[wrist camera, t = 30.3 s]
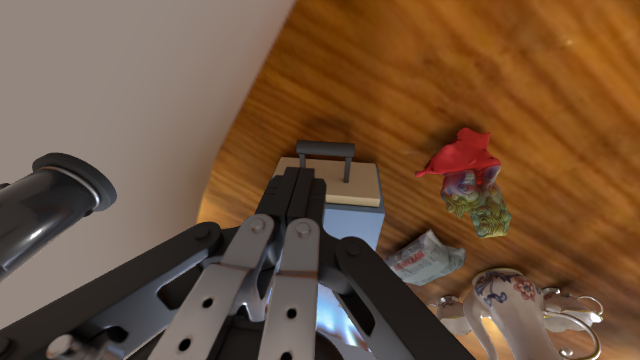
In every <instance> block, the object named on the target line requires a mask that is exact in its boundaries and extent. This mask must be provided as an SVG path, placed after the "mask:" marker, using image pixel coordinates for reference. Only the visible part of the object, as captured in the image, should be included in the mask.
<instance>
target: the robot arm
mask: <svg viewBox="0 0 640 360" xmlns="http://www.w3.org/2000/svg"><path fill="white" fill-rule="evenodd" d="M326 191H327V185H326V182H325V180H324V179H323V178H315V168H303V167H289V166H287V167H286V169H285V172H284V174H283V175H276V176H274V177H273V178H272V179H271V180H270V181H269V183H268V186H267V189H266V190H265V192H264V194H263V197H262V199H261V201H260V203H259V205H258V208H257V210H256V212H255V214H254V215H252V216H250V217H248V218H247V219H245V220H244V222H243V223H242V225H241V226H238V227H234V228H228V229H222V230H221V228H220V226H219V225H218V224H217V223H214V222H203V223H199V224H197V225H195V226H193V227H191V228H189V229H187V230H186V231H184V232H182V233H180V234H178V235H177V236H175V237H173V238H171V239H169V240H167V241H165V242H163V243H161V244H160V245H158V246H156V247H154V248H152V249H150V250H148V251H147V252H145V253H143V254H141V255H139V256H137V257H135V258H134V259H132V260H130V261H128V262H126V263H124V264H122V265H120V266H119V267H117V268H115V269H113V270H111V271H109V272H108V273H106V274H104V275H102V276H100V277H98V278H96V279H94V280H93V281H91V282H89V283H87V284H85V285H83V286H81V287H80V288H78V289H76V290H74V291H72V292H70V293H68V294H67V295H65V296H63V297H61V298H59V299H57V300H55V301H54V302H52V303H50V304H48V305H46V306H44V307H42V308H41V309H39V310H37V311H35V312H33V313H31V314H29V315H27V316H26V317H24V318H22V319H20V320H18V321H16V322H14V323H12V324H11V325H9V326H7V327H5V328H3V329H1V330H0V360H123V358H124V357H125V356H127V355H128V354H129V353H131V352H132V351H133V350H135V349H136V348H138V347H139V346H140V345H142V344H143V343H144V342H146V341H147V340H148V339H150V338H151V337H152V336H154V335H155V334H157V333H158V332H159V331H161V330H162V329H163V328H165V327H166V326H167V325H169V326H168V328H167V329H165V330H164V331H163V332H161V333H160V334H158V335H157V336H156V337H155V338H153V339H152V340H151V341H149V342H148V343H147V344H145V345H144V346H143V347H142V348H140V349H139V350H138V351H137V352H135V353H134V354H133V355H131V356H130V357H129V358H128V359H126V360H344V359H343V357H342V355H341V354H340V352H339V351H338V349H337V348H336V347H335V345H333V343H332V342H331V341H330V340H329V339H328V338H326V337H325V336H324V335H323V334H321V333H319V332H318V331H316V325H317V298H318V283H319V284H321V285H323V286H325V287H327V288H330V289H332V292H333V294H334V295H335V297H336V298H337V300H338V302H339V303H340V305H341V306H342V308H343V309H344V311H345V312H346V314H347V315H348V317H349V318H350V320H351V321H352V323H353V324H354V326H355V327H356V329H357V330H358V332H359V333H360V335H361V336H362V338H363V339H364V341H365V342H366V344H367V345H368V347H369V348H370V350H371V351H372V353H373V354H374V356H375V357H376V359H377V360H476V359H475V358H474V357H473V356H472V355H471V354H470V353H469V351H468V350H467V349H466V348H465V347H464V346H463V345H462V344H461V343H460V342H459V341H458V340H457V339H456V338H455V336H454V335H453V334H452V333H451V332H450V331H449V330H448V329H447V328H446V327H445V326H444V325H443V324H442V323H441V322H440V320H439V319H438V318H437V317H436V316H435V315H434V314H433V313H432V312H431V311H430V310H429V309H428V308H427V307H426V306H425V304H424V303H423V302H422V301H421V300H420V299H419V298H418V297H417V296H416V295H415V294H414V293H413V292H412V291H411V289H410V288H409V287H408V286H407V285H406V284H405V283H404V282H403V281H402V280H401V279H400V278H399V277H398V276H397V275H396V273H395V272H394V271H393V270H392V269H391V268H390V267H389V266H388V265H387V264H386V263H385V262H384V261H383V260H382V259H381V257H380V256H379V255H378V254H377V253H376V252H375V251H374V250H373V249H372V248H371V247H370V246H369V245H368V244H367V243H366V242H365V241H364V240H363V239H361V238H359V237H355V236H347V237H344V238H342V239H338V238H335V237H333V236H331V235H329V234H328V233H327V232H326V231H325V230H324V228H323V224H324V216H325V208H326ZM101 202H102V198H101V195H100V193H99V191H98V190H97V189H96V187H95V186H94V185H93V184H92V183H91V182H89V181H88V180H87V179H86V178H84V177H83V176H81V175H80V174H78V173H76V172H74V171H72V170H70V169H68V168H65V167H62V166H58V165H46V166H43V167H42V168H40V169H38V170H37V171H35V172H33V173H31V174H30V175H28V176H26V177H24V178H22V179H20V180H18V181H17V182H15V183H13V184H8V183H4V184H0V283H1V282H3V281H4V280H6V279H7V278H8V277H9V276H10V275H12V274H13V273H14V272H15V271H16V270H18V269H19V268H20V267H22V266H23V265H24V264H25V263H26V262H28V261H29V260H30V259H31V258H33V257H34V256H35V255H36V254H38V253H39V252H40V251H41V250H43V249H44V248H45V247H46V246H47V245H49V244H50V243H51V242H53V241H54V240H55V239H56V238H58V237H59V236H60V235H61V234H62V233H64V232H65V231H66V230H68V229H69V228H70V227H71V226H73V225H74V224H75V223H76V222H77V221H79V220H80V219H81V218H83V217H86V216H88V215H90V214H91V213H93V212H94V211H95V210H93V209H95V208H96V207H97V206H99V205H100V204H101ZM91 210H93V211H91ZM282 249H283V251H282ZM281 252H282V257H281V262H280V256H281ZM195 264H196V266H195V267H193V268H191V267H192V266H194V265H195ZM279 264H280V267H279ZM189 268H191V269H190V270H188V269H189ZM278 268H279V271H278V272H277V270H278ZM186 270H188V271H187V272H185V273H184V274H182V275H180V274H181V273H183V272H184V271H186ZM178 275H180V276H179V277H177V278H176V279H174V280H173V281H171V282H170V283H168V284H166V283H167V282H169V281H170V280H172V279H173V278H175V277H176V276H178ZM164 284H166V285H164ZM272 284H273V285H272ZM271 287H272V290H271ZM270 290H271V295H270V300H269V305H268V310H267V315H266V320H265V321H263V318H264V310H265V304H266V301H267V298H268V295H269V293H270Z"/></svg>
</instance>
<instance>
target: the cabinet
mask: <svg viewBox="0 0 640 360" xmlns="http://www.w3.org/2000/svg"><path fill="white" fill-rule="evenodd" d="M277 166H278V165H277ZM276 168H277V167H276ZM275 170H276V169H275ZM376 172H377V179H378V186H379V193H380V203H379V207H373V206H370V207H358V206H347V205H335V204H326V208H325V216H324V224H323V228H324V230H325V231H326V232H327V233H328V234H329V235H331V236H333V237H335V238H338V239H342V238H344V237H347V236H355V237H359V238H361V239H363V240H364V241H365V242H366V243H367V244H368V245H369V246H370V247H371V248H372V249H373V250H374V251H375V249H376V246H377V242H378V238H379V234H380V231H381V227H382V223H383V220H384V216H385V210H384V204H383V197H382V190H381V184H380V177H379V171H378V168H377V167H376ZM272 177H273V176H272ZM271 179H272V178H271ZM282 251H283V249H282ZM281 257H282V252H281V256H280V262H281ZM279 267H280V264H279ZM278 271H279V268H278V270H277V272H278Z"/></svg>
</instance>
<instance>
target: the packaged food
mask: <svg viewBox="0 0 640 360" xmlns="http://www.w3.org/2000/svg"><path fill="white" fill-rule="evenodd" d="M465 254H466V253H465V250H464V248H460V249H456V248H454V247H450V246H446V245H443V244H442V243H441V242H440V241H439V240H438V239H437V237H436V236H435V235H434V232H432V230H431V229H430V230H428V231H426V233H424V234H423V235H421V236H420V237H418V238H417V239H416V240H414V241H413V242H412V243H410V244H409V245H408V246H407V247H403V248H402V249H400V250H399V251H397V252H396V253H395V254H392V255H391V256H389V257H387V258H386V259H384V260H383V261H384V262H385V263H386V264H387V265H388V266H389V267H390V268H391V269H392V270H393V271H394V272H395V273H396V275H397V276H398V277H399V278H400V279H401V280H402V281H405V282H408V283H412V284H415V285H418V286H422V285H424V284H426V283H428V282H430V281H432V280H434V279H436V278H439V277H441V276H444V275H446V274H449V273H451V272H453V271H455V270H457V269H458V268H460V267H462V266H463V264H464V261H465V258H466V257H465Z"/></svg>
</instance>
